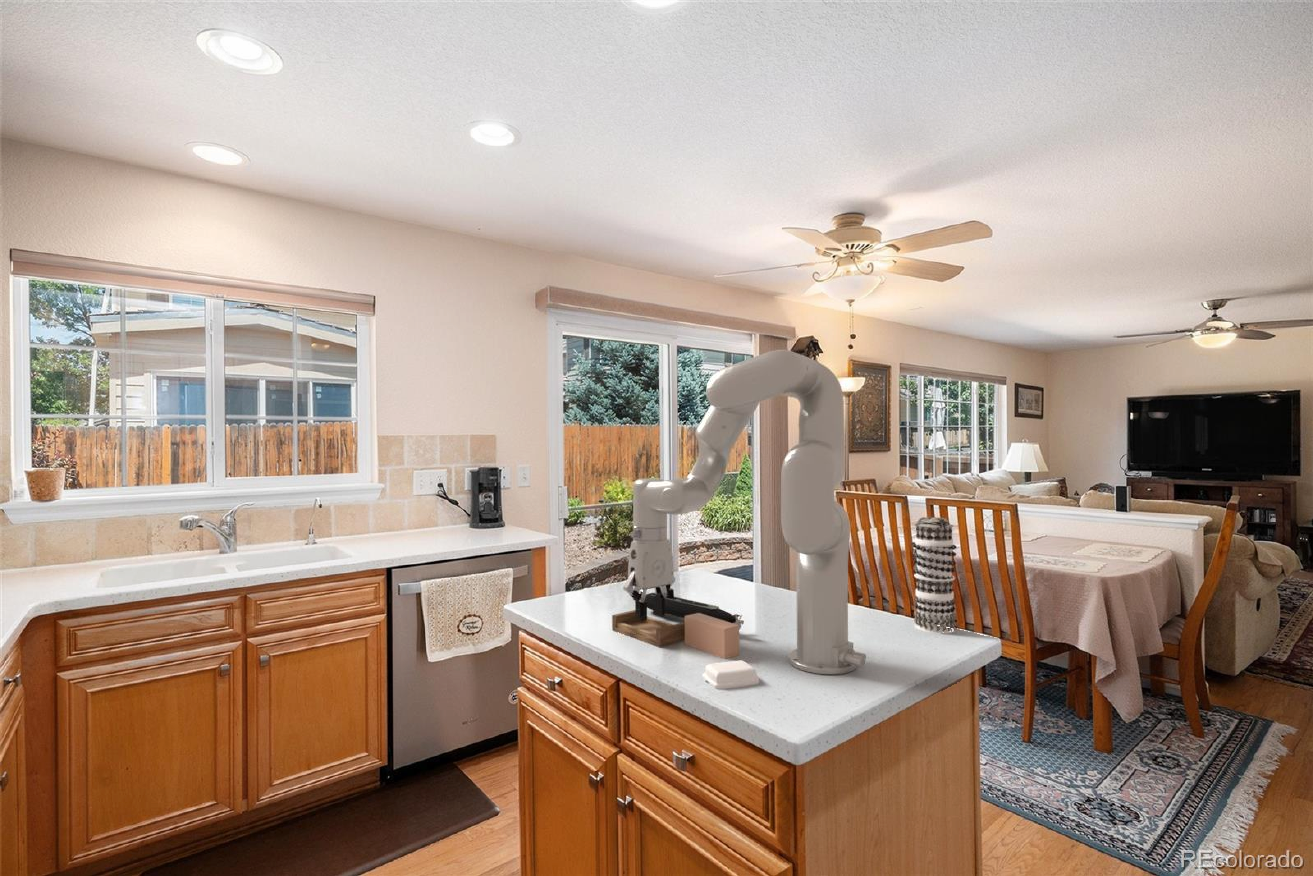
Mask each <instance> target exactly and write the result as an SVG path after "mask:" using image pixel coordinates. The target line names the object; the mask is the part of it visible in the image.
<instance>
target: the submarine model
mask: <svg viewBox="0 0 1313 876" xmlns="http://www.w3.org/2000/svg"><path fill="white" fill-rule="evenodd" d="M674 592H675V590H674V589H673V588H672V587H670V589H669V591H668V592H667V597H666V598H665V615H669V616H674V617H678V618H681V619H685V616H687V615H691V614H696V613H701V614H704V615H707V616H711V617H714V618H717V619H720V620H724V621H727V622H730V623H733V624H736V625H739V630H741V628H742V625H744V623H745V620H741V619H742V616H743V614H737V613H736V614H731V613H729V612H728V611H726V610H723V609H721V608H720V606H719V605H714V604H709V603H704V602H700V601H696V600H692V599H686V598H682V597H677V596H675V594H674ZM654 596H656V594H655V592H649V593H646V596H645V601H644V602H647V609H649V610H650V611H653V597H654Z"/></svg>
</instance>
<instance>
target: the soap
mask: <svg viewBox="0 0 1313 876" xmlns="http://www.w3.org/2000/svg"><path fill="white" fill-rule="evenodd" d="M702 679H703V681H704V682H708V685H709V686H710V687H712V688H713V689H716V690H721V689H722V690H724V689H733V688H742V687H746V686H753V685H758V684H760V679H759V678H758V673H757V670H756V669H755V668H754V667H753V666H752V665H750V664H749V663H747V662H745V661H744V660H731V661H730V660H729V661H723V662H722V661H721V662H716V663H710V664H707V665H705V667H704V672H703V673H702Z"/></svg>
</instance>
